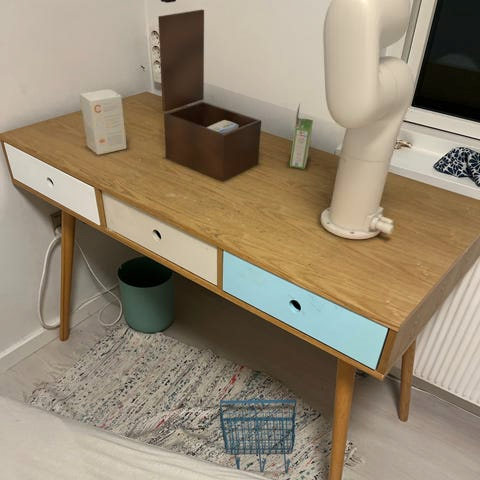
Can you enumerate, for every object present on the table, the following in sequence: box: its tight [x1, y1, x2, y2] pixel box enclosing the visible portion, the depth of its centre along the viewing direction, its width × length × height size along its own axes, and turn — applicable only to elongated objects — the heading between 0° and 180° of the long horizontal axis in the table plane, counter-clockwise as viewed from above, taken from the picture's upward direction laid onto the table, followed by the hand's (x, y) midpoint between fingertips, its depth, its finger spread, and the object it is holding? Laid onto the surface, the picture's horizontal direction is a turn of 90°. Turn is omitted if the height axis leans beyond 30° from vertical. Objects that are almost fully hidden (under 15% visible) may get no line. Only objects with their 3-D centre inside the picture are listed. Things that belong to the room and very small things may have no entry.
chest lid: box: [157, 9, 205, 113], centre depth 116 cm, size 19×14×1 cm
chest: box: [163, 100, 262, 182], centre depth 122 cm, size 19×14×11 cm
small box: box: [79, 88, 127, 156], centre depth 124 cm, size 8×6×13 cm
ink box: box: [289, 103, 314, 170], centre depth 123 cm, size 7×4×13 cm, turn 168°
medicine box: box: [207, 120, 239, 134], centre depth 121 cm, size 8×4×9 cm, turn 144°
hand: (168, 1), depth 110 cm, fingers closed
